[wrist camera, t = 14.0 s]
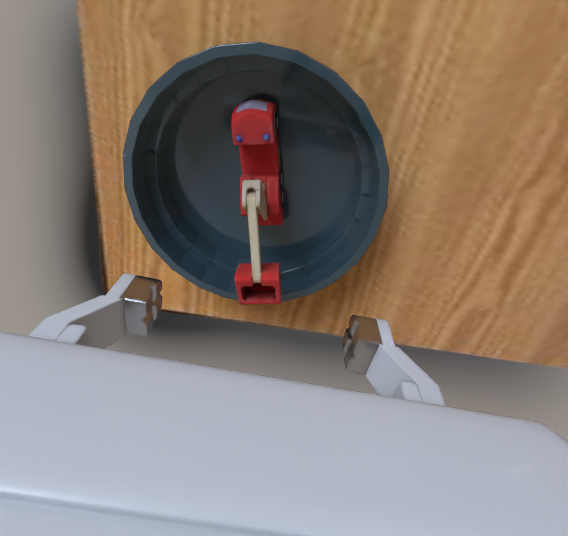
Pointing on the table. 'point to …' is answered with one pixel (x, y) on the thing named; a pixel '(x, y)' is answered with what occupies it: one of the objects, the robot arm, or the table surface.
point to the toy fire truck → (258, 195)
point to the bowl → (227, 169)
